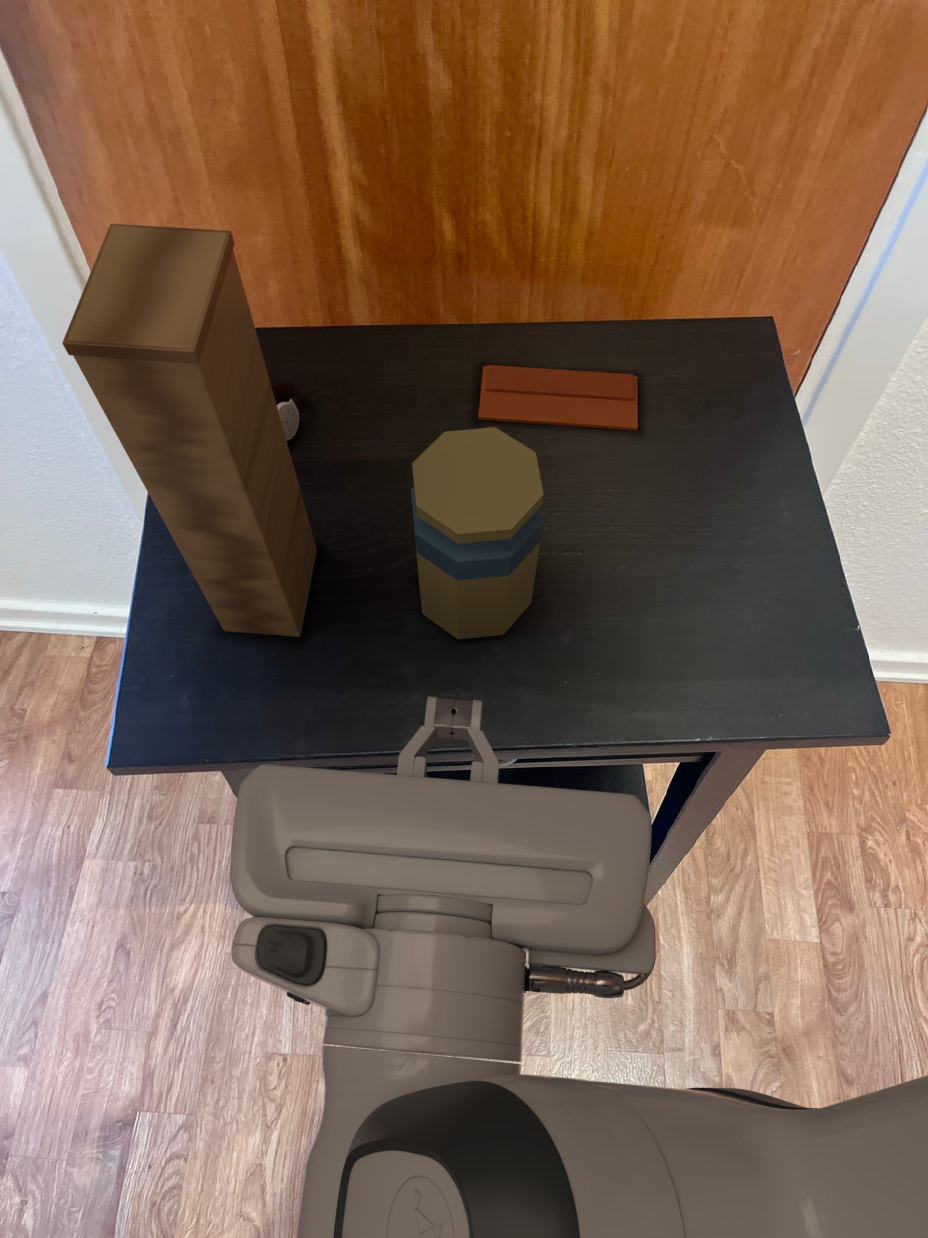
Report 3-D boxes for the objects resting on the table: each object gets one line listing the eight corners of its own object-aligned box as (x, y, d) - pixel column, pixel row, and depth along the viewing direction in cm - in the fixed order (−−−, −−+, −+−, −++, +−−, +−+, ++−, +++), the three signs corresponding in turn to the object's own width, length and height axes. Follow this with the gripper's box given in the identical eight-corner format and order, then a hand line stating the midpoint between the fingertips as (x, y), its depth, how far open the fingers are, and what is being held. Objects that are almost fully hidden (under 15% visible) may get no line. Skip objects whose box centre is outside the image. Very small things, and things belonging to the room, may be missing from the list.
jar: (435, 532, 70) (429, 409, 57) (544, 559, 69) (563, 439, 56) (400, 628, 66) (385, 519, 53) (515, 658, 65) (529, 555, 52)
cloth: (636, 379, 78) (638, 372, 78) (637, 430, 75) (638, 424, 75) (483, 368, 79) (483, 362, 78) (478, 419, 76) (478, 413, 75)
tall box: (318, 548, 70) (231, 230, 43) (301, 638, 66) (194, 351, 39) (243, 542, 70) (110, 222, 43) (222, 632, 66) (61, 342, 40)
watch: (270, 469, 73) (261, 442, 70) (224, 449, 74) (213, 421, 71) (317, 407, 77) (311, 378, 73) (272, 389, 78) (264, 359, 74)
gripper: (671, 998, 36) (664, 694, 43) (193, 955, 37) (255, 662, 43) (643, 1007, 42) (640, 737, 48) (228, 969, 42) (279, 708, 49)
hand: (455, 701), depth 46 cm, fingers closed
